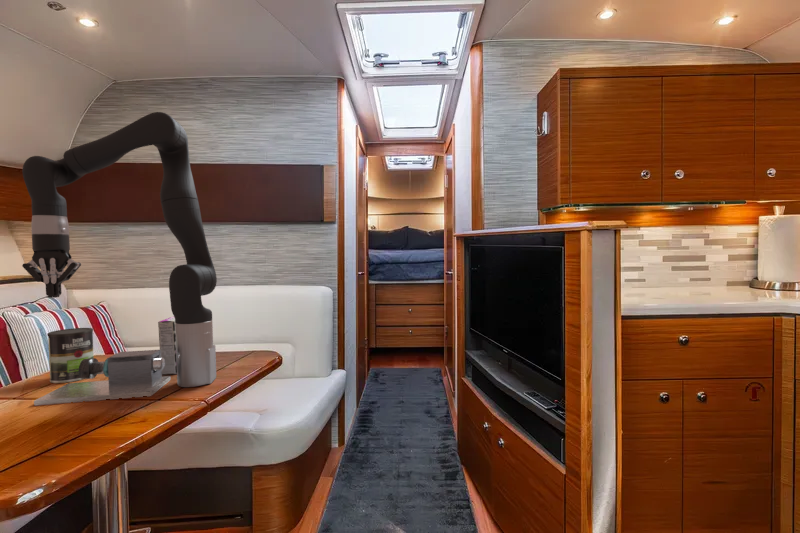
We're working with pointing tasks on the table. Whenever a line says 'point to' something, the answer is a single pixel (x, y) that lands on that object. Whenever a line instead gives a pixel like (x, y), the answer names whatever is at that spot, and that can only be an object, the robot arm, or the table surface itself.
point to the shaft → (93, 367)
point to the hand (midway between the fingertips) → (53, 297)
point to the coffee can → (68, 353)
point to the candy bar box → (168, 345)
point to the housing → (114, 381)
